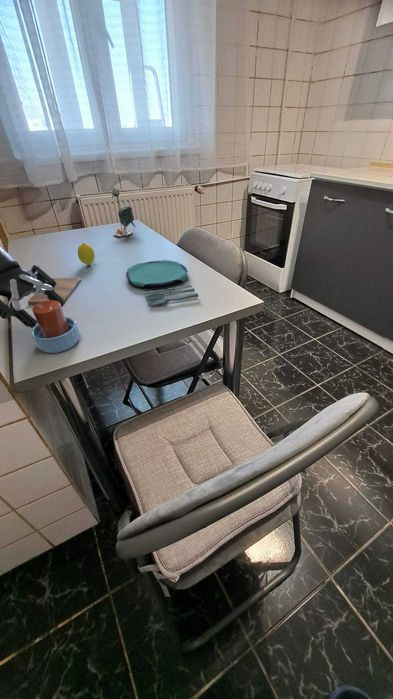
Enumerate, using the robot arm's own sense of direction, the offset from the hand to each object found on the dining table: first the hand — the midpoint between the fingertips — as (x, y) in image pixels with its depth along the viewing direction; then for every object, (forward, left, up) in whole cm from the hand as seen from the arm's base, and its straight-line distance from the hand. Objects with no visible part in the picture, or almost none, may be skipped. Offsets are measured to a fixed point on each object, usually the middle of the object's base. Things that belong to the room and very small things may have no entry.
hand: (49, 315), depth 64 cm
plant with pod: (+62, +60, -7) cm, 87 cm away
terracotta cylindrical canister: (0, 0, -6) cm, 6 cm away
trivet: (+12, +26, -7) cm, 29 cm away
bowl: (0, 0, -7) cm, 7 cm away
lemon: (+30, +38, -7) cm, 49 cm away
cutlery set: (+37, +6, -7) cm, 38 cm away
